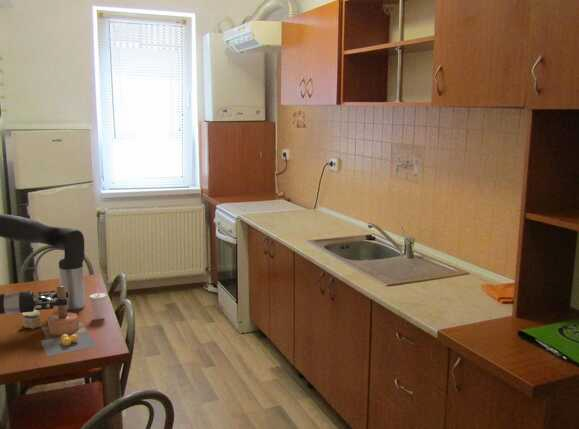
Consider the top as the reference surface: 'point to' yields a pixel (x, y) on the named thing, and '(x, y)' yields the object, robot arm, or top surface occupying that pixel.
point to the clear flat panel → (49, 336)
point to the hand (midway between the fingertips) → (67, 298)
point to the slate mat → (57, 347)
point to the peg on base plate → (62, 317)
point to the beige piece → (32, 319)
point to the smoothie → (98, 304)
